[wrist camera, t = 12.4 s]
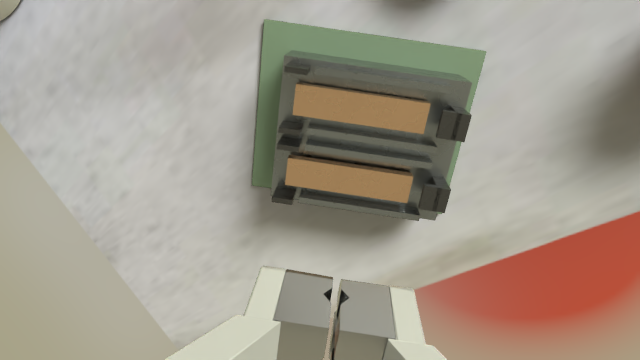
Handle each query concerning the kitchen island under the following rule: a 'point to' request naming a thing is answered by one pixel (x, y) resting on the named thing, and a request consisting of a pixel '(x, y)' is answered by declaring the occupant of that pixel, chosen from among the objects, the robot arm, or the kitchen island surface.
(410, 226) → the kitchen island surface
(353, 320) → the robot arm
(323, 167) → the strap far
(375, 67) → the grey toaster
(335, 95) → the strap near
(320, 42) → the board
